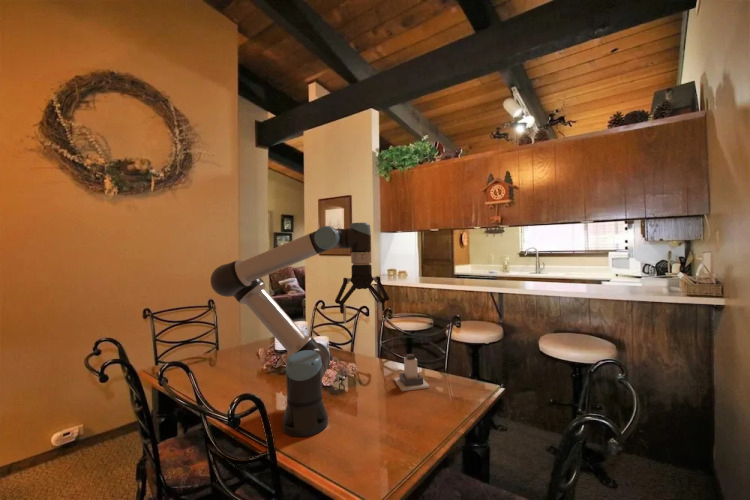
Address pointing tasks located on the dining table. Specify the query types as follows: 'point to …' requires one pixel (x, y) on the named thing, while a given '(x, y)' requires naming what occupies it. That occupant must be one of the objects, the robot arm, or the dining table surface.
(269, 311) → the robot arm
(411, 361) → the grey bottle
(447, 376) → the dining table surface
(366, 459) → the dining table surface
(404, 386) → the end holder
